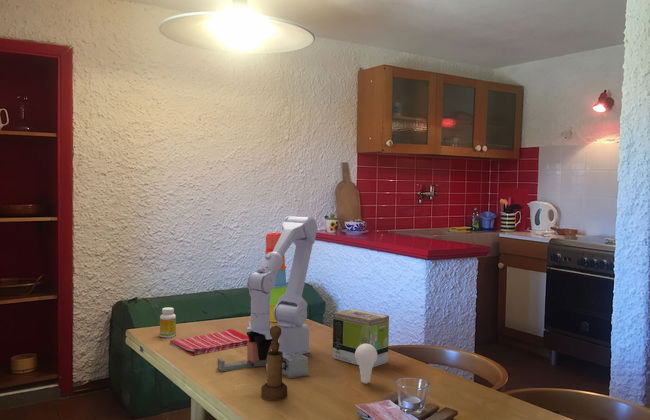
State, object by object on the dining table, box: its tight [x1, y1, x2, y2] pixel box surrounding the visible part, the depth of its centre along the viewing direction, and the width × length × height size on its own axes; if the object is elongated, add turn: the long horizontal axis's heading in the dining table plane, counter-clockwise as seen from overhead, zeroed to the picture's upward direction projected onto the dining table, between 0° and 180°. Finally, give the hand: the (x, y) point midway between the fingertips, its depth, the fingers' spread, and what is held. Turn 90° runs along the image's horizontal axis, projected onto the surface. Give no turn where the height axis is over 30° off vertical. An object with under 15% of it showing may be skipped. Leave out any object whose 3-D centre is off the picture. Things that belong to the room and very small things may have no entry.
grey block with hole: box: [282, 352, 309, 379], centre depth 161 cm, size 6×6×5 cm
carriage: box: [246, 342, 272, 368], centre depth 169 cm, size 6×4×6 cm
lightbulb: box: [355, 344, 377, 385], centre depth 154 cm, size 6×6×11 cm
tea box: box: [332, 308, 390, 369], centre depth 175 cm, size 15×10×15 cm, turn 47°
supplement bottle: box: [159, 306, 177, 339], centre depth 198 cm, size 5×5×10 cm
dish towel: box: [169, 328, 250, 356], centre depth 190 cm, size 17×24×3 cm
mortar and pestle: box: [260, 325, 288, 401], centre depth 144 cm, size 7×6×18 cm
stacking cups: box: [264, 232, 288, 323], centre depth 225 cm, size 10×10×35 cm
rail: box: [217, 357, 255, 373], centre depth 167 cm, size 18×3×3 cm, turn 120°
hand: (259, 357), depth 169 cm, fingers closed on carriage, 4 cm apart
